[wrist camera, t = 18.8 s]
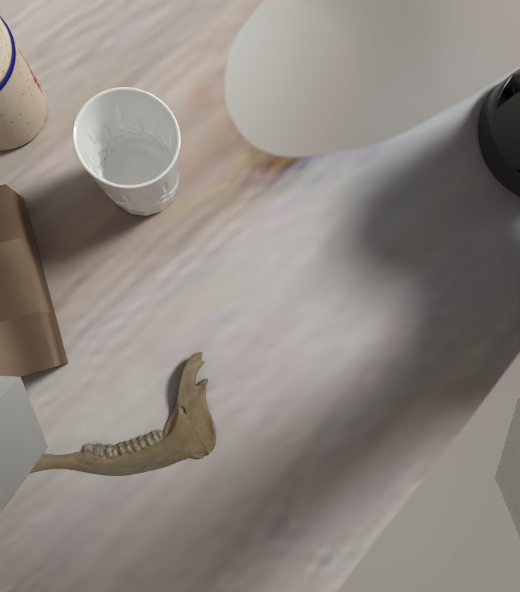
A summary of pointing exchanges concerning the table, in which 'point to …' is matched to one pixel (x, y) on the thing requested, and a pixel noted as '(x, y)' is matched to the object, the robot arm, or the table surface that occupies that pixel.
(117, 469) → the jawbone
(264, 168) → the table surface
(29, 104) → the teacup with lid
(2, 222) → the socket block
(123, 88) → the white cup
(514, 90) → the robot arm
